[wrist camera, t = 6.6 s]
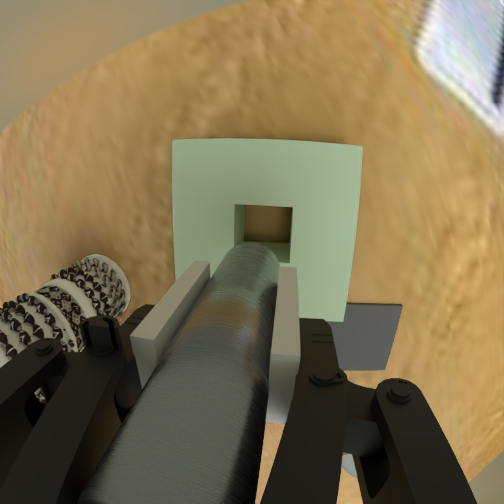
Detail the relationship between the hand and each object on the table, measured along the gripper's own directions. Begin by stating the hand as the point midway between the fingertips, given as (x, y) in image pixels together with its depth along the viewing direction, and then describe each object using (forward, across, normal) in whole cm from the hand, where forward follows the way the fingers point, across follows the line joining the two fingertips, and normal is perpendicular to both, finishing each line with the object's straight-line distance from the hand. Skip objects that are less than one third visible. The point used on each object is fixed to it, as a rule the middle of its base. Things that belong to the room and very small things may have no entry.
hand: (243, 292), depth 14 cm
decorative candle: (+17, +20, +9) cm, 28 cm away
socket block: (+17, 0, 0) cm, 17 cm away
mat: (+17, -11, +13) cm, 24 cm away
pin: (+3, 0, 0) cm, 3 cm away
